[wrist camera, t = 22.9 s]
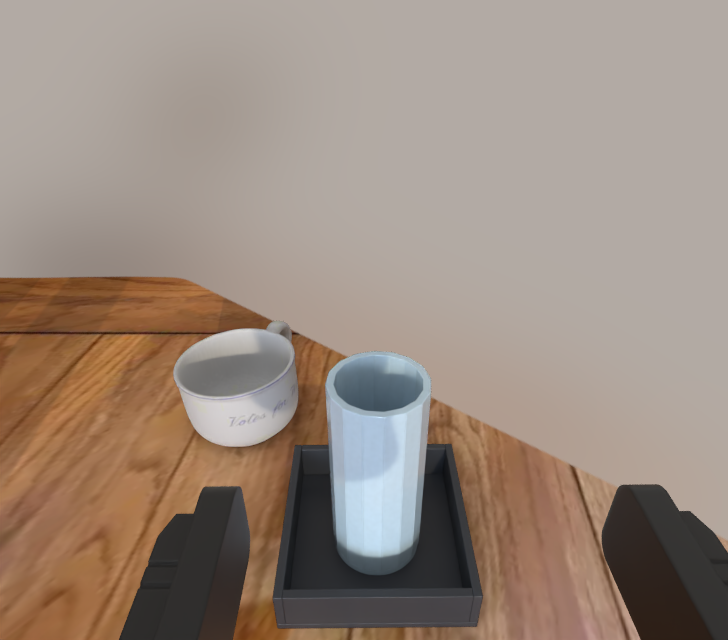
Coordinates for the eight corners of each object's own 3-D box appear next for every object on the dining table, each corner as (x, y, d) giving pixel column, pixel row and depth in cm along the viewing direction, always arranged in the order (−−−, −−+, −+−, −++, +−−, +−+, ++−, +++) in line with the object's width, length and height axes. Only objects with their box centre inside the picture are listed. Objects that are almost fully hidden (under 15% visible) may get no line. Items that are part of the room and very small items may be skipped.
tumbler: (318, 551, 39) (305, 394, 31) (360, 490, 43) (358, 341, 36) (395, 591, 36) (403, 431, 28) (431, 522, 41) (446, 368, 33)
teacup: (245, 483, 45) (232, 412, 41) (164, 433, 50) (146, 366, 46) (341, 396, 54) (339, 332, 50) (265, 361, 60) (258, 301, 56)
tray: (277, 628, 34) (272, 598, 33) (297, 473, 46) (294, 444, 44) (477, 626, 34) (483, 596, 33) (448, 472, 46) (451, 443, 44)
